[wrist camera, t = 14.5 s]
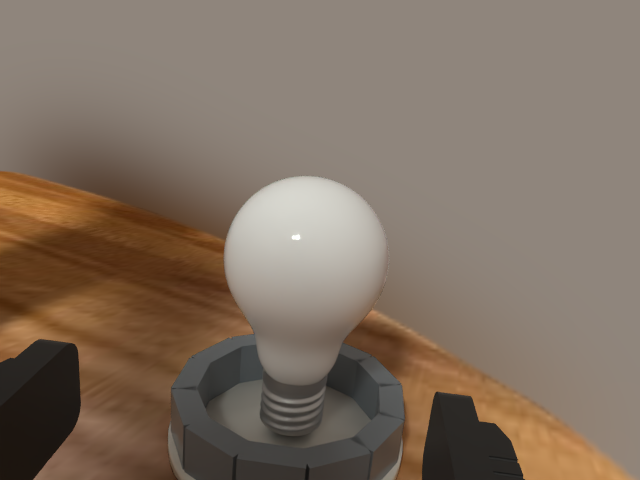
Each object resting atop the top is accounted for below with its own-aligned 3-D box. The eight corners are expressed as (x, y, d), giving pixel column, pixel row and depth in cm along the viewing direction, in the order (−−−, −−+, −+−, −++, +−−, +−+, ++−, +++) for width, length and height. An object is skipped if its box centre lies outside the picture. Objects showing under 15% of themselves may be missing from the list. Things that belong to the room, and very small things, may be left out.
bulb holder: (127, 508, 20) (126, 448, 19) (206, 363, 29) (208, 319, 29) (407, 549, 19) (418, 489, 19) (396, 388, 29) (403, 344, 28)
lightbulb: (241, 377, 28) (256, 154, 24) (369, 401, 27) (403, 174, 23) (190, 462, 22) (200, 182, 18) (353, 497, 21) (395, 209, 17)
